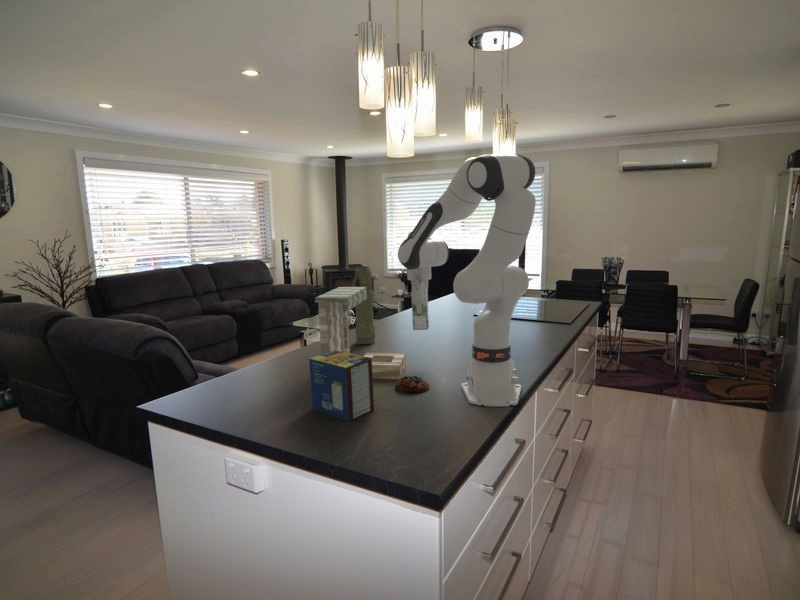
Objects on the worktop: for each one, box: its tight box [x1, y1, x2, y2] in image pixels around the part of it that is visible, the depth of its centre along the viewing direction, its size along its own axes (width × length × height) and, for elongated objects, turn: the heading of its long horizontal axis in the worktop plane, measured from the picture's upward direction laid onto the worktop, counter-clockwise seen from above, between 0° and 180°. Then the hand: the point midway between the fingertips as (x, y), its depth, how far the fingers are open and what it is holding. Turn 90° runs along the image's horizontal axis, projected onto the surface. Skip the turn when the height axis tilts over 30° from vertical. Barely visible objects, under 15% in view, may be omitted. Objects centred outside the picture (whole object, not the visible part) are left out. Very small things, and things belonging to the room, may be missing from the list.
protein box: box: [308, 350, 375, 423], centre depth 128 cm, size 10×15×16 cm
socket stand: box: [314, 286, 407, 380], centre depth 161 cm, size 28×26×30 cm
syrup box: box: [410, 290, 430, 331], centre depth 167 cm, size 6×6×14 cm
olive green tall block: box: [352, 265, 376, 345], centre depth 203 cm, size 9×12×35 cm
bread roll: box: [394, 375, 431, 395], centre depth 145 cm, size 11×11×5 cm
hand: (420, 311), depth 167 cm, fingers closed on syrup box, 6 cm apart
